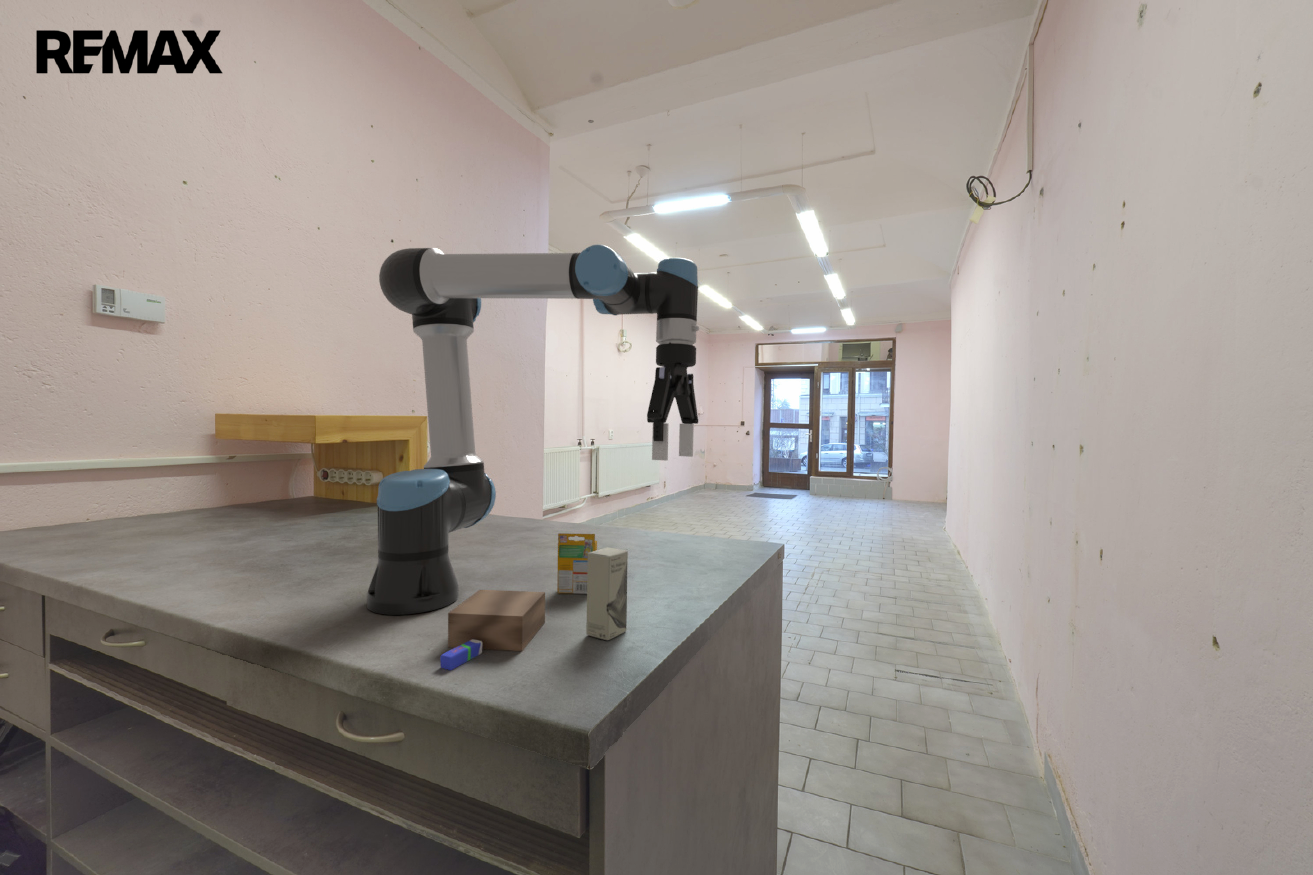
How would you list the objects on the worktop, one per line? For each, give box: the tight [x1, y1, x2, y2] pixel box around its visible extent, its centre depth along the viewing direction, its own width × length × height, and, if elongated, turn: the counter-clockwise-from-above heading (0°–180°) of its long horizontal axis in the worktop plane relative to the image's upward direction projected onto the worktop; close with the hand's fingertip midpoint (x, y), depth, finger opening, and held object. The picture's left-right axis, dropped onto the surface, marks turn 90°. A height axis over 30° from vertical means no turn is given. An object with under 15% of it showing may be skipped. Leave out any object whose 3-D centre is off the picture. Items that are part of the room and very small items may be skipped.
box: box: [585, 546, 629, 641], centre depth 83 cm, size 5×4×13 cm
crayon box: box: [556, 532, 598, 595], centre depth 103 cm, size 7×3×12 cm, turn 88°
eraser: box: [439, 639, 483, 671], centre depth 73 cm, size 2×6×2 cm, turn 156°
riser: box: [447, 589, 546, 652], centre depth 82 cm, size 11×11×5 cm
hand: (673, 458), depth 101 cm, fingers open, 13 cm apart
